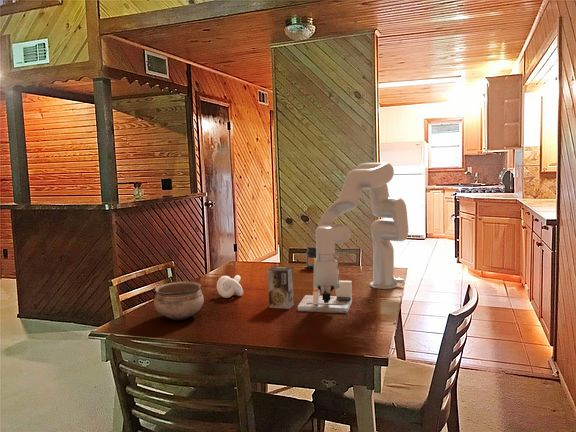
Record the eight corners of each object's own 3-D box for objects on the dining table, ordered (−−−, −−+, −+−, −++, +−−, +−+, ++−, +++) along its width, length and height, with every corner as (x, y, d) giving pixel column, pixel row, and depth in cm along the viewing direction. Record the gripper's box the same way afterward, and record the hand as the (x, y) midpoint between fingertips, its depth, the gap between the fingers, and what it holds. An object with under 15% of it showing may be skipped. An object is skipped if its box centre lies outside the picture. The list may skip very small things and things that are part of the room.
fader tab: (320, 301, 195) (319, 287, 194) (318, 304, 191) (317, 290, 190) (315, 301, 195) (314, 287, 195) (313, 304, 192) (312, 290, 191)
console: (351, 301, 202) (351, 296, 202) (347, 313, 187) (347, 307, 186) (305, 299, 207) (305, 294, 207) (297, 310, 191) (297, 305, 191)
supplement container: (319, 270, 262) (318, 248, 261) (303, 268, 268) (302, 247, 266) (328, 266, 271) (328, 245, 269) (312, 264, 276) (311, 244, 275)
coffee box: (294, 304, 200) (293, 267, 198) (289, 309, 194) (288, 270, 192) (273, 303, 203) (272, 266, 201) (268, 307, 197) (267, 269, 195)
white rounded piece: (250, 295, 216) (250, 275, 215) (230, 301, 208) (229, 281, 207) (234, 291, 224) (233, 272, 223) (214, 296, 215) (213, 277, 214)
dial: (352, 296, 202) (352, 279, 201) (350, 300, 196) (350, 283, 195) (337, 295, 203) (336, 279, 202) (335, 299, 197) (334, 282, 197)
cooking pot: (197, 328, 175) (195, 295, 173) (146, 329, 175) (143, 296, 174) (210, 307, 199) (208, 278, 198) (165, 308, 200) (163, 279, 199)
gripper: (345, 255, 192) (346, 300, 194) (308, 255, 196) (310, 298, 198) (343, 259, 185) (344, 305, 187) (305, 258, 188) (306, 304, 190)
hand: (326, 301), depth 192 cm, fingers closed
